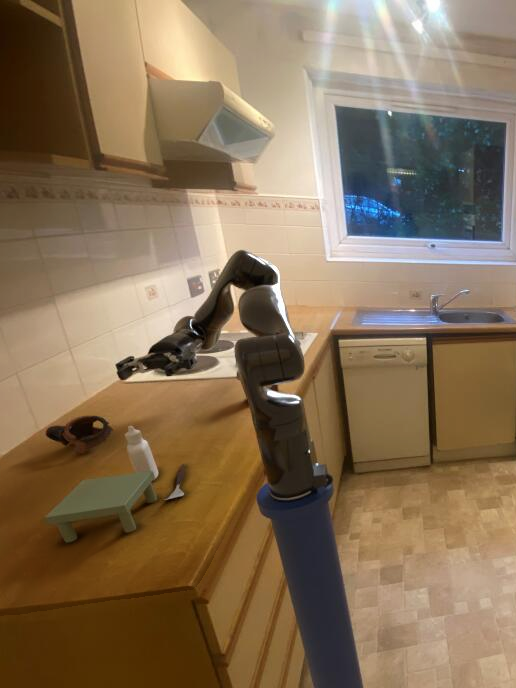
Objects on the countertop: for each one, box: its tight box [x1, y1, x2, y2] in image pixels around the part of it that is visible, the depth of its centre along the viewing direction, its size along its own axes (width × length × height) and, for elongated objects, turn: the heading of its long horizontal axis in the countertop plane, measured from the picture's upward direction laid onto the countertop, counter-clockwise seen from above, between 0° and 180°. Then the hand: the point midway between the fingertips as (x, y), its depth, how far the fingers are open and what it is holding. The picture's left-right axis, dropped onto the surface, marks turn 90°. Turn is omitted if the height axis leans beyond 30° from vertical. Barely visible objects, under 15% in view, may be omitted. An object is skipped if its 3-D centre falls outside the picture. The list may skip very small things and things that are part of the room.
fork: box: [163, 463, 185, 501], centre depth 89 cm, size 3×16×2 cm, turn 29°
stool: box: [44, 471, 158, 544], centre depth 79 cm, size 11×11×6 cm
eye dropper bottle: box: [124, 425, 159, 481], centre depth 90 cm, size 4×6×12 cm
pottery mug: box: [45, 415, 115, 455], centre depth 102 cm, size 12×10×8 cm
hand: (144, 374), depth 95 cm, fingers open, 8 cm apart
